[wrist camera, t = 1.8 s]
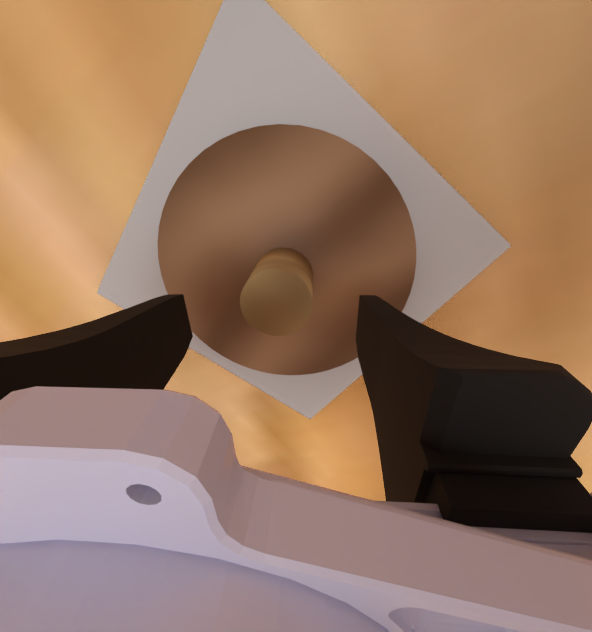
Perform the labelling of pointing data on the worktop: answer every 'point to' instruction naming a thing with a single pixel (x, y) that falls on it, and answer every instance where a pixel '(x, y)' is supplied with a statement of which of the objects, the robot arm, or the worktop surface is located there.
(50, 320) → the worktop surface
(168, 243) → the lid
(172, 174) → the mat
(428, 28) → the worktop surface
